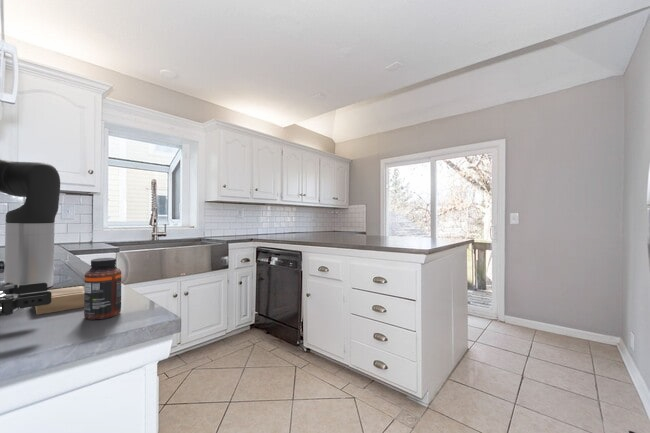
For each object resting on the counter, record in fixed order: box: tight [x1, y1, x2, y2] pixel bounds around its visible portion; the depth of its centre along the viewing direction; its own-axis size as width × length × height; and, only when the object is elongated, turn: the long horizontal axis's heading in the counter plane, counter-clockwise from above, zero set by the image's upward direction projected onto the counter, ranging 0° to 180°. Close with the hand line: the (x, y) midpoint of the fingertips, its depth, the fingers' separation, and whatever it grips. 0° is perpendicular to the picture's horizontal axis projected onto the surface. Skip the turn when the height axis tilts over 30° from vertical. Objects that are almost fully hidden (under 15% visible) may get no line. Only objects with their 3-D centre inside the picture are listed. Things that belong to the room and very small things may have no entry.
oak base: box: [34, 285, 84, 315], centre depth 64 cm, size 8×8×3 cm
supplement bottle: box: [83, 257, 122, 321], centre depth 59 cm, size 6×6×11 cm
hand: (49, 292), depth 53 cm, fingers open, 8 cm apart
